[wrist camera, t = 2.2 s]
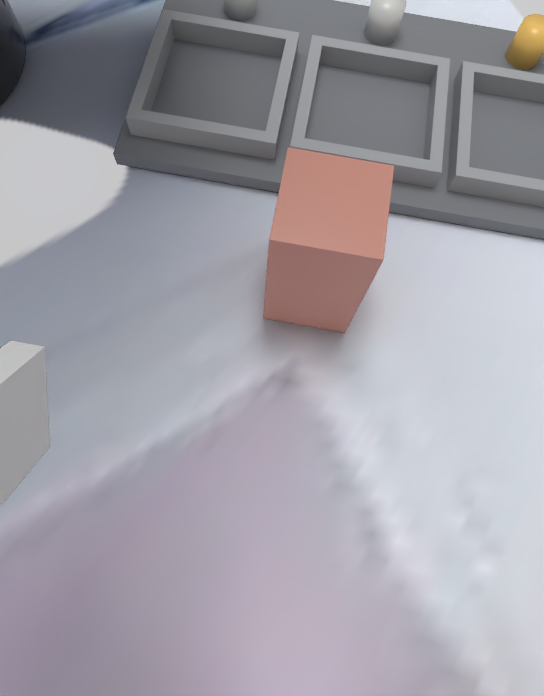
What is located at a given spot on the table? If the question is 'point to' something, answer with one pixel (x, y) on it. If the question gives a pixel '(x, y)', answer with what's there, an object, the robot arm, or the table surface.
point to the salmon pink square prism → (326, 238)
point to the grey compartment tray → (348, 103)
